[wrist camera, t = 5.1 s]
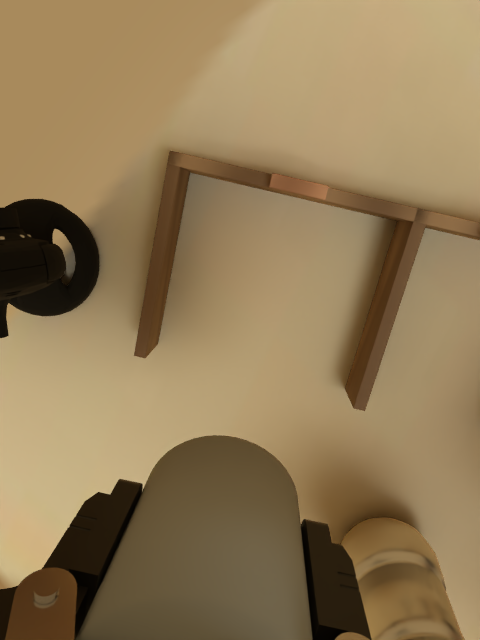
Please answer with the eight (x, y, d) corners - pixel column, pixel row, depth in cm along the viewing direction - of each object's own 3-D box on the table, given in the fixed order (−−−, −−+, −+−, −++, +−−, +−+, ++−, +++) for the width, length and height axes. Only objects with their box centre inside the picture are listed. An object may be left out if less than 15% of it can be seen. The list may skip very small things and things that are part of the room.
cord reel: (314, 454, 14) (356, 665, 7) (279, 582, 15) (288, 858, 9) (156, 420, 14) (59, 600, 7) (135, 551, 15) (36, 802, 9)
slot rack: (570, 248, 26) (620, 254, 22) (496, 424, 28) (530, 455, 25) (181, 157, 26) (166, 148, 22) (147, 341, 29) (129, 359, 25)
